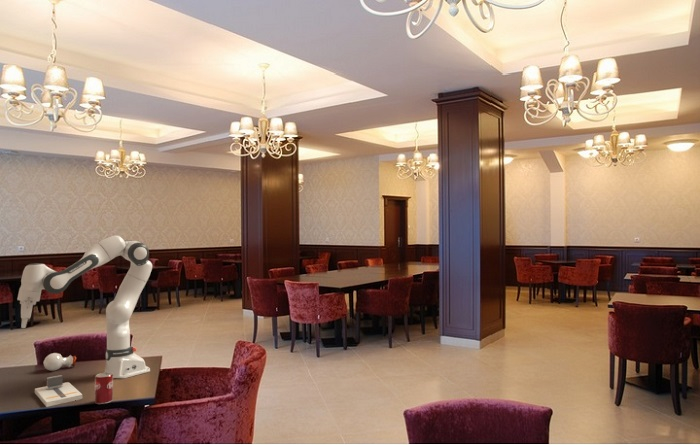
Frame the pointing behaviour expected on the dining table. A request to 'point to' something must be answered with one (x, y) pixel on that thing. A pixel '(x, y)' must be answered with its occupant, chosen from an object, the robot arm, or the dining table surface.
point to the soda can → (103, 388)
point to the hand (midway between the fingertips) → (23, 326)
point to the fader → (55, 382)
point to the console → (58, 394)
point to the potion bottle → (58, 361)
